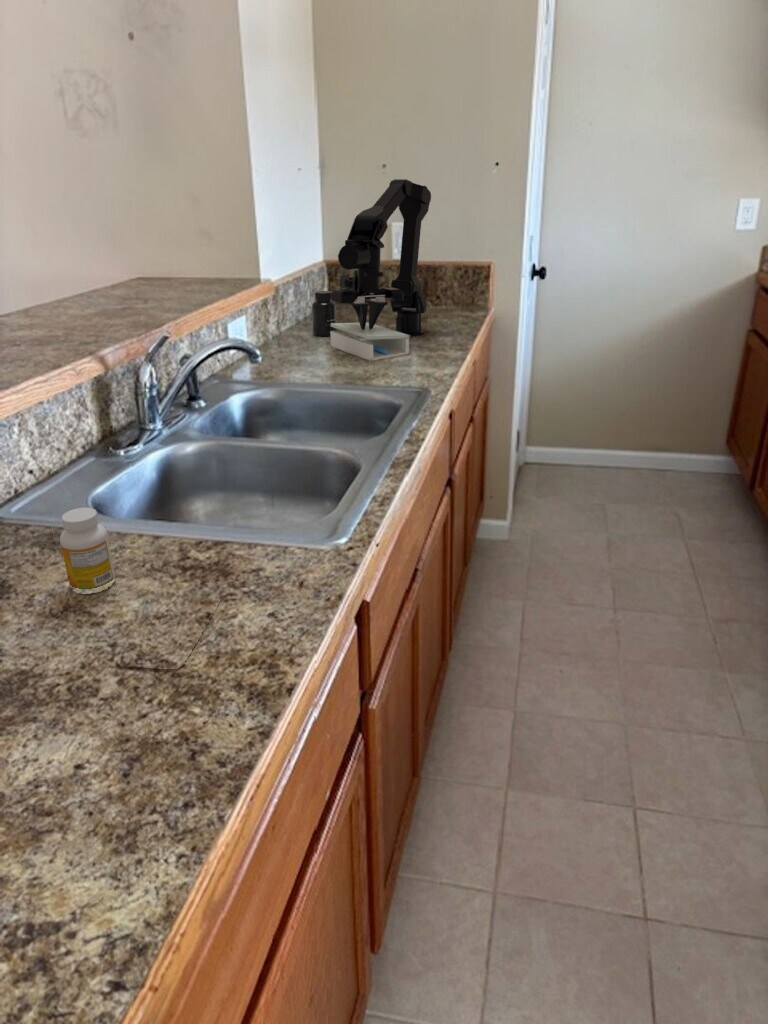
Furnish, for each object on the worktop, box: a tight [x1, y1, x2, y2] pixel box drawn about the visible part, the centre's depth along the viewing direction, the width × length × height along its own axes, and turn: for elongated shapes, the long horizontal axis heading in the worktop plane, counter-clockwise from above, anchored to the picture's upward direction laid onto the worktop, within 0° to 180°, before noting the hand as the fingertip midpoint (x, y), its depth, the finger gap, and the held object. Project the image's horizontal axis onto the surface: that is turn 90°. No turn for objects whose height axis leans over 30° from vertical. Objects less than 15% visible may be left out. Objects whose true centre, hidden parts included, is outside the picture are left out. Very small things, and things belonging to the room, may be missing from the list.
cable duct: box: [329, 331, 410, 362], centre depth 203 cm, size 12×20×4 cm, turn 33°
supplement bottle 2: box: [311, 290, 337, 337], centre depth 219 cm, size 7×7×12 cm
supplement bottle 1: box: [59, 507, 116, 589], centre depth 93 cm, size 5×5×10 cm
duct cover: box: [331, 322, 411, 340], centre depth 202 cm, size 12×20×1 cm, turn 33°
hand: (366, 329), depth 201 cm, fingers closed
